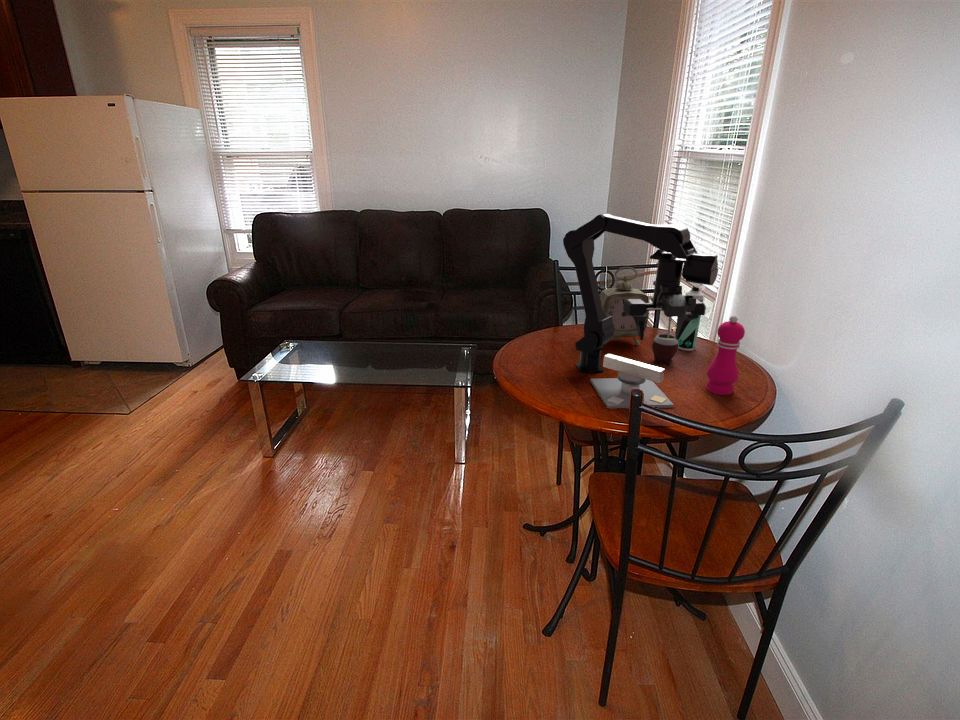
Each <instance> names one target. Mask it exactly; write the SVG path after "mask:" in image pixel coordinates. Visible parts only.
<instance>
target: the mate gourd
mask: <svg viewBox="0 0 960 720" xmlns="http://www.w3.org/2000/svg"><path fill="white" fill-rule="evenodd" d="M672 318H673V317H668V328H667V333H660V334H657V335H656V336H655V337H654V338H653V342H652V343H651V344H652V346H651V348H652V353H653V358H654V361H653V362H652V363H653V365H658V364H664V365H666V366H667V367H671V365H672V364H671V363H672V362H673V358H674V357H675V356H676V354H677V352H678V350H679V349H678V340H676V339H675V335H672V334H670V333H671V323H672Z"/></svg>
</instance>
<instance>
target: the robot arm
mask: <svg viewBox="0 0 960 720" xmlns="http://www.w3.org/2000/svg"><path fill="white" fill-rule="evenodd" d="M605 232H607V233H612V234H614V235H615V234H616V235H620V236H623V237H628V238H632V239H636V240H639V241H644V242H646V243H648V244H650V246H652V247H654V248H656V251H655V252H654V253H653V254H651V255H650V256H649V259H650V260H657V266H656V274H655V279H654V280H653V282H652V285H653V286H654V289H653V296H650V301H651V302H649V303H644V302H643V301H642V300H641V299H627V300H626V301H625V302H624V306H623V310H624V311H625V312H627V313H628V314H629V315H631V316H632V317H633V318H634V321H635V323H636V327H637V330H638V334H639V336H638V337H639V341H643V340H644V335H645V334H644V333H645V331H644V324H645V320H646V318H647V317H646V316H645V315H644V314H645V313H646V311H649V312H652V311H653V312H655V311H658V312H661V311H663V315H664V316H666V317H667V318H669V317H671V318H674V317H677V319H676V326H675V333H674V336H675V339H676V340H679V338H680V336H681V335H682V333H683V331H684V330H685V328H686V326H687V325H688V324H689V322H690V321H692V320H693V319H695V318H698V317H699V316H698V315H701V316H705V315H706V310H707V309H706V308H707V306H706V304H705V303H704V302H703V303H702V302H701V301H699V300H697V299H696V297H695V295H687V296H686V295H685V294H684V295H683V285H682V284H681V281H682V279H684V280H685V282H686V283H693V284H698V285H699V284H700V285H706V286H713V285H714V284H715V282H716V280H717V277H718V274H719V267H718V266H719V264H718V254H701V253H698V251H697V249H696V248H695V246H694V244H693V242H692V241H691V232H690V231H689V229H688V227H687V226H685V225H683V224H652V223H647V222H643V221H639V220H634V219H631V218H630V219H629V218H625V217H620V216H616V215H612V214H610V213H601V214H597V215H596V216H595V217H594V218H592V219H591V220H589V221H588V222H587V223H584V224H583V225H581V226H580V227H578V228H576V229H573V230H569V231H568V232H566V233H565V234H564V237H562V238H563V239H562V245H563V247H564V250H565V254H566V256H567V257H568V258H569V260H570V261H571V262H572V263H573V265H574V268H575V273H576V277H577V282H578V287H579V290H580V291H579V292H580V296H581V300H582V301H581V302H582V305H583V311H584V314H585V317H584V322H583V337H581V338H580V339H579V340H576V341H575V343H574V345H575V349H576V351H579V352H580V354H579V361H578V362H575V365H576V367H577V369H578V370H579V372H580V373H604V369H603V366H601V356H602V348H603V347H605V346H607V344H606V343H608V342H609V341H611V340H612V339H613V338H614V337H613V335H614V330H615V328H614V326H613V318H612V316H610V317H607V316H606V315H605V313H604V312H603V309H602V305H601V300H600V291H599V286H598V282H597V277H596V273H595V267H594V263H593V257H594V255H595V254H594V253H595V241H596V240H597V239H598V238H600V237H601V236H602V235H603V234H604V233H605Z"/></svg>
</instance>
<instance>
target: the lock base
mask: <svg viewBox="0 0 960 720" xmlns="http://www.w3.org/2000/svg"><path fill="white" fill-rule="evenodd" d="M590 383H591V385H592V387H593V388H594V389H595V391H596V392H597V394H598V396H599V398H600V397H601V398H600V399H601V401H602V400H603V401H602V402H603V404H604V403H605V404H604V405H606V406H607V407H606V406H605V407H606V409H607V408H627V409H628V410H629V403H630V392H631V390H632V389H640V390H642V391H643V393H644V402H643V403H644V404H647V405H650V406H654V407H657V408H656V409H663V408H665V409H667V408H672V409H673V408H674V403H673V402H672V401H671V400H670V399H669V398H668V397H667V396H666V394H665V393H664V392H663V391H662V390H661V389H660V388H659V387H658V386H657V384H655V383H656V382H653V381H650V380H645V382H644V383H643V384H639V385H631V384H626V383H623V382H621V381H619V380H618V378H617V377H614V378H613V377H612V378H611V377H609V378H607V377H606V378H604V377H603V378H590Z"/></svg>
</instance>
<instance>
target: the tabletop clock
mask: <svg viewBox="0 0 960 720" xmlns="http://www.w3.org/2000/svg"><path fill="white" fill-rule="evenodd" d="M623 270H632V271H633V272H634V273H635V275H634V276H633V277H628V276H627V275H624V276H623V277H619V276H617V274H618V272H620V271H623ZM614 277H615V278H616V279H617V280H620V281H619V282H618V283H617V284H616V286H615V287H610V288H606V289H604V290H602V291H601V292H600V293H599V295H600V300H601V305H602V309H603V312H604V313H605V315H606V316H607V317H610V316H612V318H613V326H614V328H615V330H614V335H613V337H612V338H613V340H614V341H616V342H617V341H619V340H620V338H629V337H630V338H631V337H632V338H633V340H634V345H636V346H639V345H640V343H641V342H640V340H639V339H637V337H639V334H638V330H637V327H636V323H635V321H634V318H633V317H632V316H631V315H629V314H628V313H627V312H625V311H624V310H623V306H624V302H625V301H626V300H627V299H641V300H642V301H643V302H644V303H650V299H649V297H648V295H647V294H645V292H643V291H641V290H639V289H637V288H634V286H633V284H632V282H630V281H631V280H634V279H635V278H636V277H638V271H637V270H636V269H635V268H634V267H631V266H624V267H623V266H622V267H619V268H617V270H616V271H615V272H614ZM644 315H645V316H646V317H647V318H646V320H645V324H644V332H645V331H646V328H647V325H648V320H649V317H650V311H646V313H645V314H644ZM607 343H608V342H607ZM607 343H606V345H607Z"/></svg>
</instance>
